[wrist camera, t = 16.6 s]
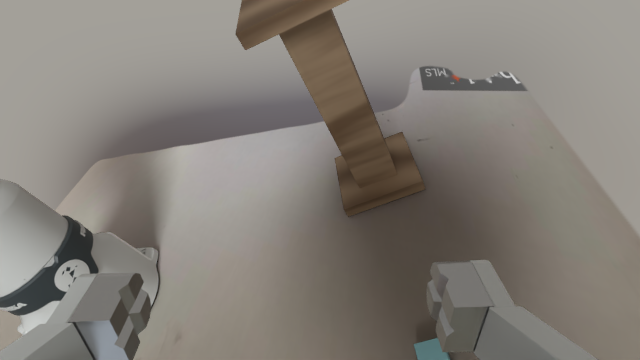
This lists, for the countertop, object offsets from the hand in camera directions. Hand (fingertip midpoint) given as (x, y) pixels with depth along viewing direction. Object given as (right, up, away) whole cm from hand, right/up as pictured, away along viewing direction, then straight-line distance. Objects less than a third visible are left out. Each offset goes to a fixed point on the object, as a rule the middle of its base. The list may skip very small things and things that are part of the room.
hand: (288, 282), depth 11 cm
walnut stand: (+9, +3, +40) cm, 41 cm away
